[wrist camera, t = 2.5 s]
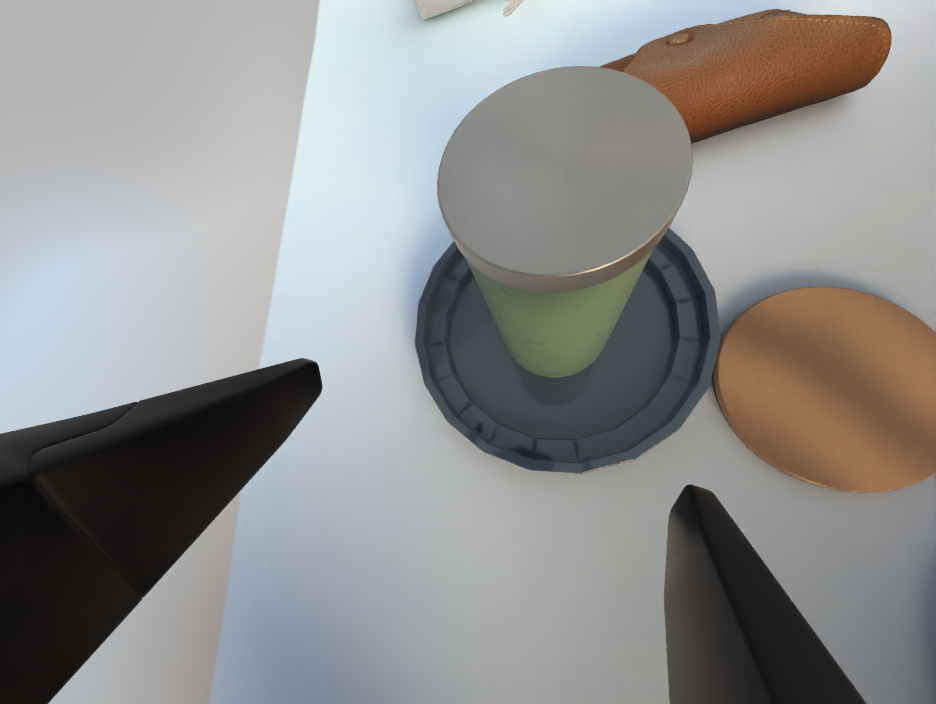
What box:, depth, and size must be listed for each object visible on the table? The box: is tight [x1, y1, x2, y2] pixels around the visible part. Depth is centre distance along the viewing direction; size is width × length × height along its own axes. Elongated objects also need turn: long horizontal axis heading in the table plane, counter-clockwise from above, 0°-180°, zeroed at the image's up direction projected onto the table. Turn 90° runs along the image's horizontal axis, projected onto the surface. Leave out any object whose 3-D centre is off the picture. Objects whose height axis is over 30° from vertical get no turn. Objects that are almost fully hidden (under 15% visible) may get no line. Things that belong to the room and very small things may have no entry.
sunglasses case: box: [600, 9, 891, 143], centre depth 22 cm, size 18×7×7 cm, turn 103°
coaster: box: [713, 287, 936, 492], centre depth 18 cm, size 10×10×1 cm
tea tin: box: [437, 66, 693, 378], centre depth 15 cm, size 6×6×13 cm
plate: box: [415, 228, 721, 473], centre depth 21 cm, size 16×16×2 cm
